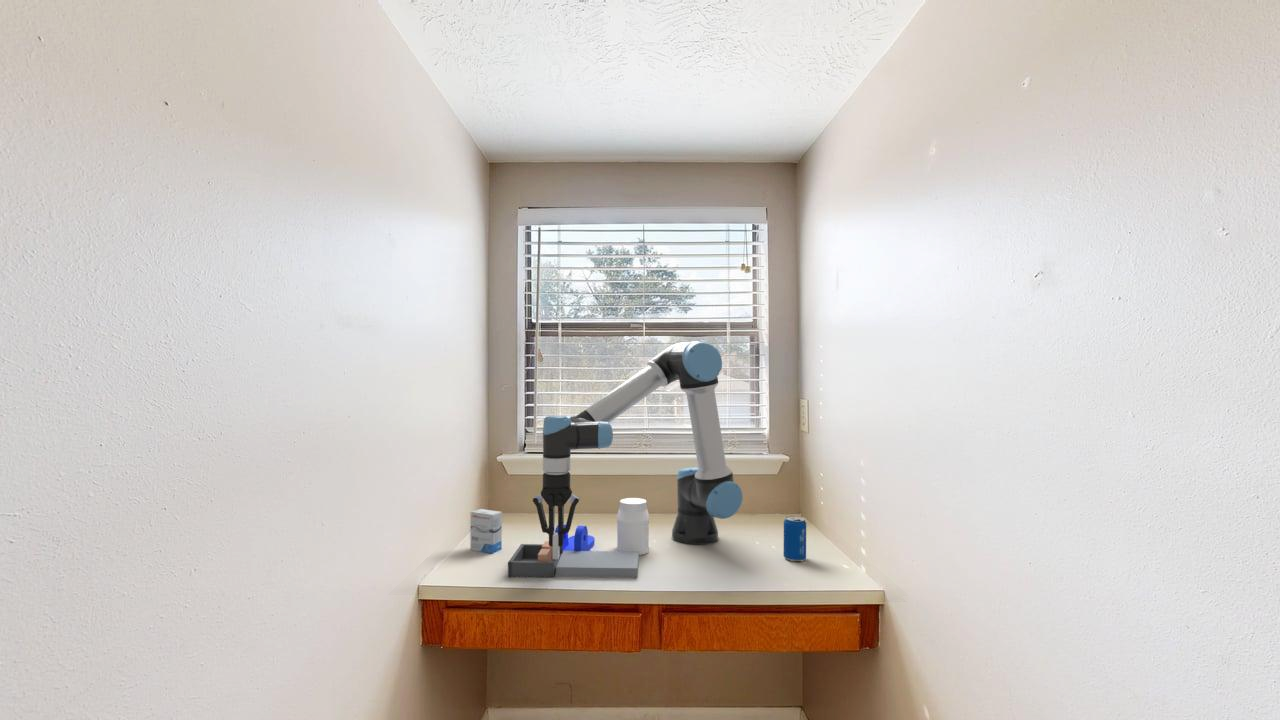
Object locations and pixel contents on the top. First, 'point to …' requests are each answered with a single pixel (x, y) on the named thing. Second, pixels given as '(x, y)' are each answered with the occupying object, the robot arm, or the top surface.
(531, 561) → the box
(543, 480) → the robot arm
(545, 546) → the tile
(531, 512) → the top surface
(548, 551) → the tile
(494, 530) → the ink box
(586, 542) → the bracket
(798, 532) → the beverage can
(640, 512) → the jar
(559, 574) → the board
